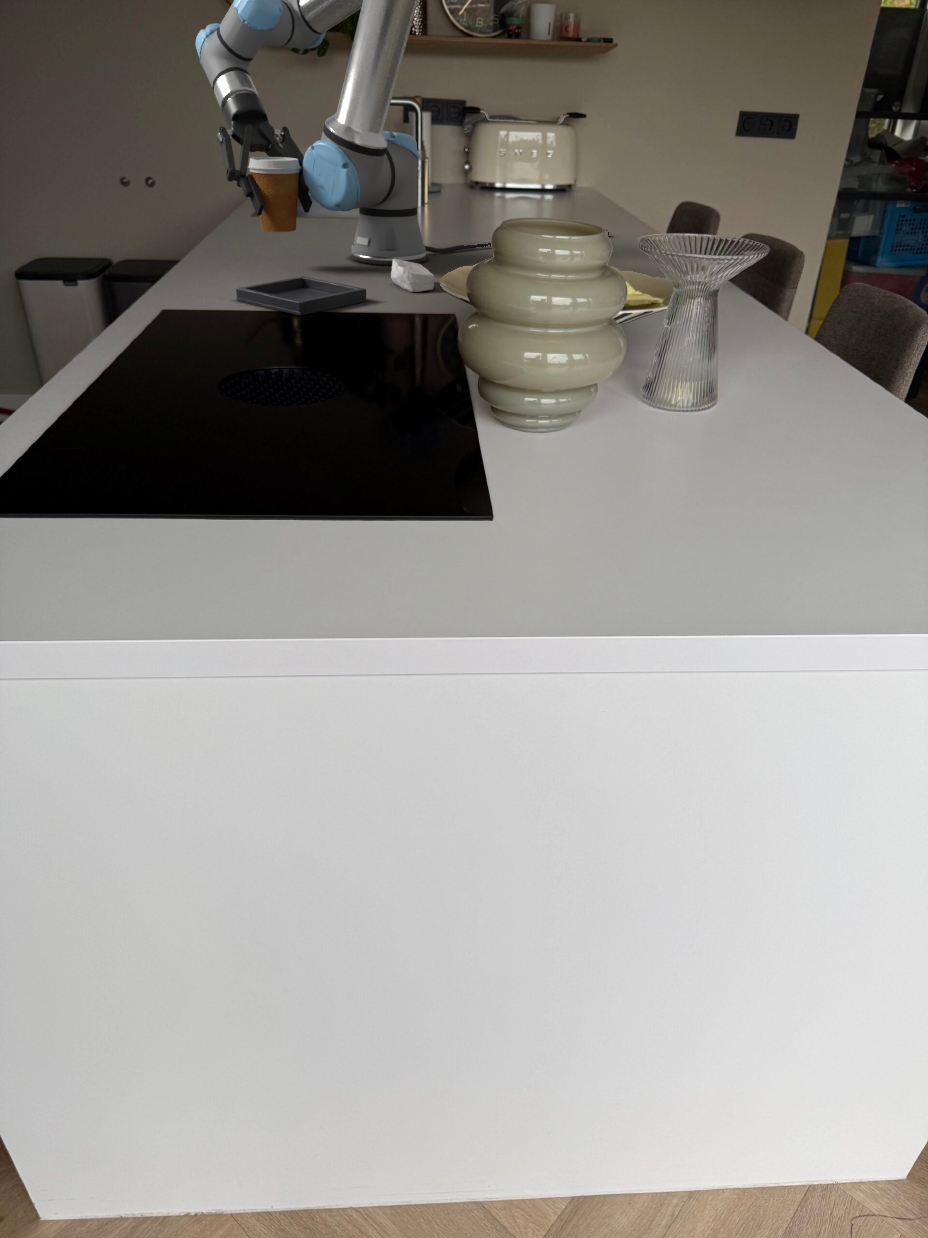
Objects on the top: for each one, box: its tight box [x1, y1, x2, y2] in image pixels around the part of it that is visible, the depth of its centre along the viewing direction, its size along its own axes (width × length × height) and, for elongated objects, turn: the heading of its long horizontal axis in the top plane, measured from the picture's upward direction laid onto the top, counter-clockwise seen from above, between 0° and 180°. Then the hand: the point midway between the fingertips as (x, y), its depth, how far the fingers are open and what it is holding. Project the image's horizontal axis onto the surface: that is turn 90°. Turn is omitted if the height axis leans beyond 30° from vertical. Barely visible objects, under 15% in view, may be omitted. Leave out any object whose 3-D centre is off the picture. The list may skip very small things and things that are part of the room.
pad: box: [235, 275, 367, 317], centre depth 151 cm, size 15×15×2 cm
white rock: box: [390, 259, 435, 293], centre depth 163 cm, size 10×6×6 cm, turn 13°
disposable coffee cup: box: [247, 156, 301, 233], centre depth 169 cm, size 10×10×12 cm
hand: (285, 208), depth 168 cm, fingers closed on disposable coffee cup, 9 cm apart
